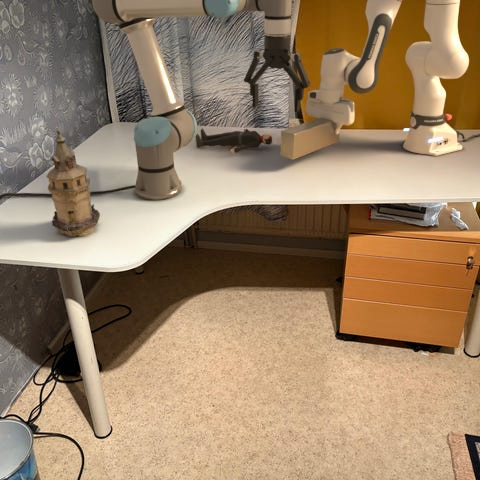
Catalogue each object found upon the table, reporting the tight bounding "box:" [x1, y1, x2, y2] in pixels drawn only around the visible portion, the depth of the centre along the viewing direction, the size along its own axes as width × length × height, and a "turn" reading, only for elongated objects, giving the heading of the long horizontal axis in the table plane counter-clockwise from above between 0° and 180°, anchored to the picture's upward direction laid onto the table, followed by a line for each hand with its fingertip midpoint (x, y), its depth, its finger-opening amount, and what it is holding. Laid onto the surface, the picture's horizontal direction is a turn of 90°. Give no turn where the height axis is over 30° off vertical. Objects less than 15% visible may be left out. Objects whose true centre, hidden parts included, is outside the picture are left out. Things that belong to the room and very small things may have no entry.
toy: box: [195, 127, 273, 155], centre depth 214 cm, size 26×6×30 cm
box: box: [280, 118, 340, 160], centre depth 197 cm, size 27×6×9 cm, turn 135°
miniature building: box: [46, 129, 101, 237], centre depth 148 cm, size 13×14×30 cm
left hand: (276, 108), depth 163 cm, fingers open, 13 cm apart
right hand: (328, 131), depth 204 cm, fingers closed on box, 6 cm apart
